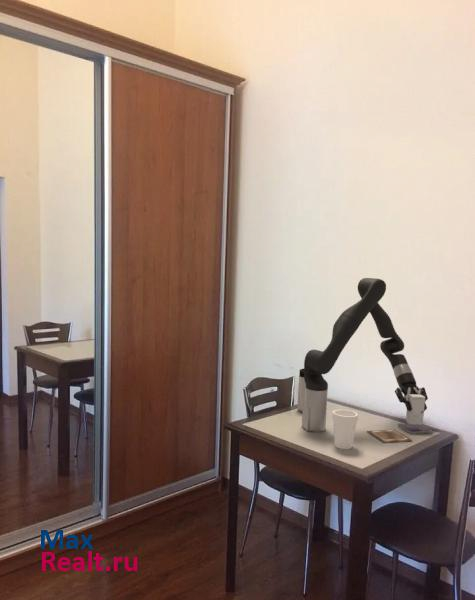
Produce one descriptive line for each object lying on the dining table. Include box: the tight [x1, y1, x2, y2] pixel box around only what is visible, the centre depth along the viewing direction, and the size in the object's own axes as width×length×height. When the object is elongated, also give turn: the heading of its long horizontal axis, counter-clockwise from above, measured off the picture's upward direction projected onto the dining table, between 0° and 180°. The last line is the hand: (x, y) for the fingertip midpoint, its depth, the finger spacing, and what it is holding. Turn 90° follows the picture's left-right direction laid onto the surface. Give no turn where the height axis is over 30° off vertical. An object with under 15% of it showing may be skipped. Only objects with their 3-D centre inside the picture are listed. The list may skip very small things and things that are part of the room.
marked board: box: [366, 429, 413, 444], centre depth 210 cm, size 13×13×1 cm
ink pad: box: [397, 422, 433, 435], centre depth 219 cm, size 10×10×1 cm
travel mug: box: [297, 368, 306, 414], centre depth 240 cm, size 6×7×20 cm
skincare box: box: [405, 394, 426, 425], centre depth 219 cm, size 6×4×12 cm
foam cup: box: [331, 409, 359, 450], centre depth 196 cm, size 10×9×13 cm
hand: (417, 410), depth 217 cm, fingers closed on skincare box, 6 cm apart
